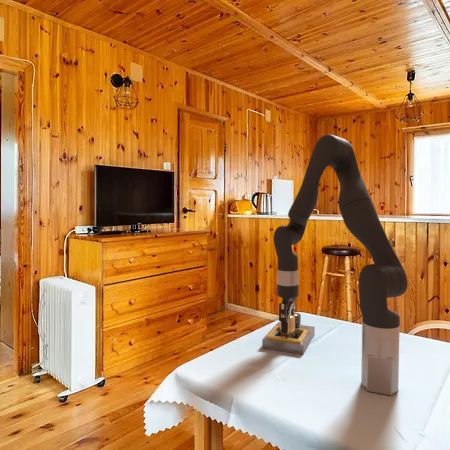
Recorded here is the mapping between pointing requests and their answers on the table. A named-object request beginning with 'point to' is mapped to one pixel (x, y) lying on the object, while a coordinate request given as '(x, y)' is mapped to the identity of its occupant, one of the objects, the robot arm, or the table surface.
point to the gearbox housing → (288, 344)
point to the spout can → (289, 328)
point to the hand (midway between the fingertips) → (287, 328)
